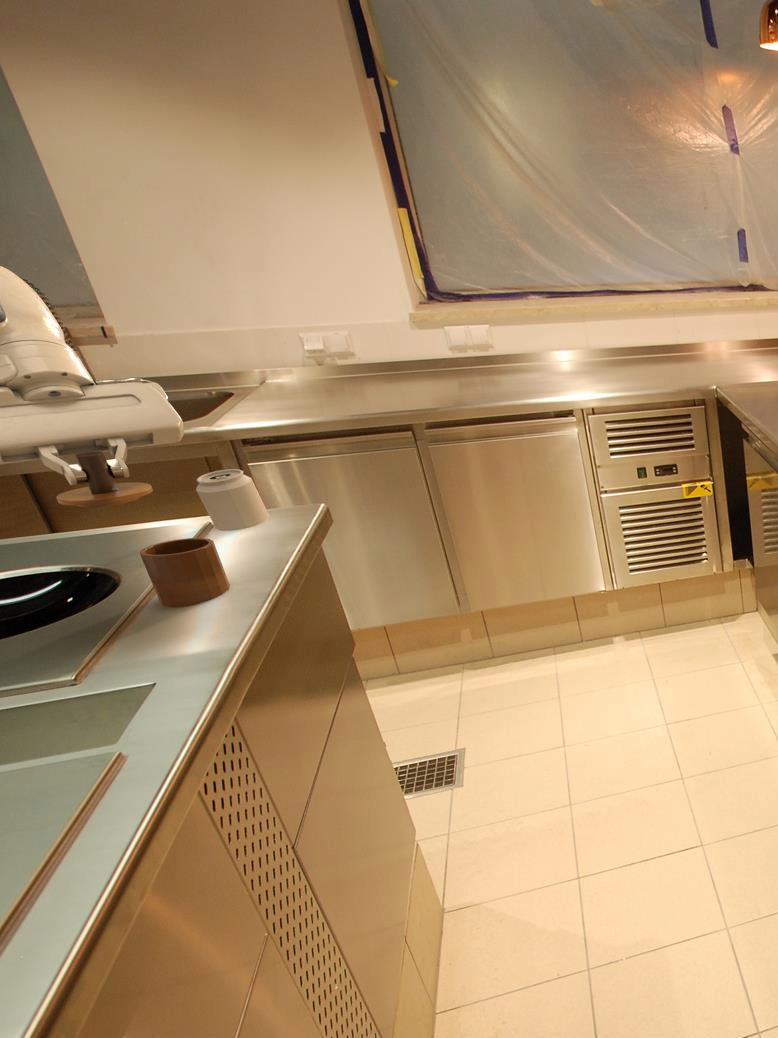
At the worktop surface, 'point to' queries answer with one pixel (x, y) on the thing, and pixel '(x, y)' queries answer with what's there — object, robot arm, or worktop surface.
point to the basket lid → (101, 485)
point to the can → (231, 500)
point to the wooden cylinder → (185, 571)
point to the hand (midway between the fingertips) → (100, 478)
